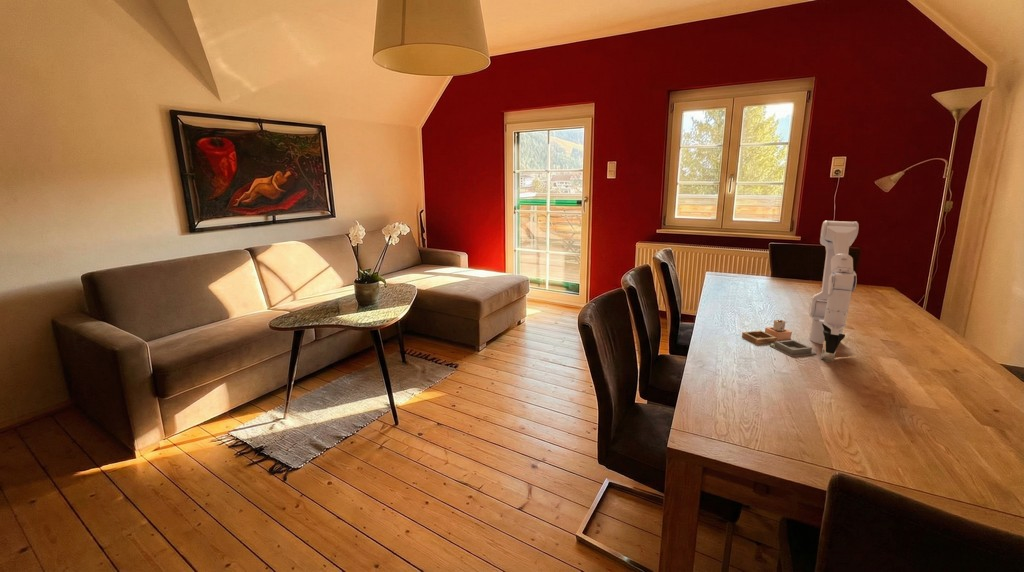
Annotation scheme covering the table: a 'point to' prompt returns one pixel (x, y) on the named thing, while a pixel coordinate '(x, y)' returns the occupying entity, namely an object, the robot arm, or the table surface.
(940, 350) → the table surface
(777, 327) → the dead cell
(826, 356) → the cell
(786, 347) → the cradle
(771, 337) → the brown square tray
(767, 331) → the orange square box
